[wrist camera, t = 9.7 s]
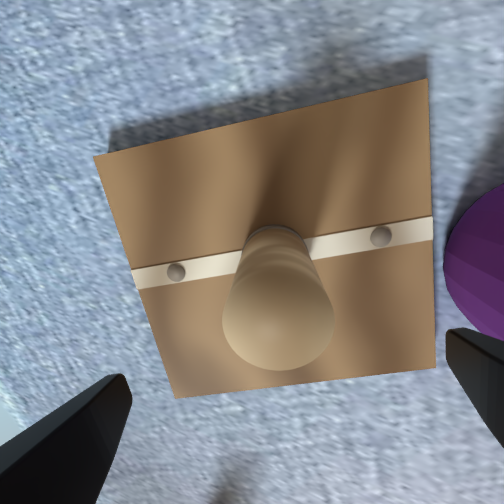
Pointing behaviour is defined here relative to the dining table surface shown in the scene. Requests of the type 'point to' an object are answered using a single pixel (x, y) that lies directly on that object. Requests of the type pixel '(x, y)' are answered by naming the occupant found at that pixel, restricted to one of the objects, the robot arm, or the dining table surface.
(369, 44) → the dining table surface
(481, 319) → the mug
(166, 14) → the dining table surface
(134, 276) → the board
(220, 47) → the dining table surface
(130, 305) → the dining table surface
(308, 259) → the tan wooden cylinder
